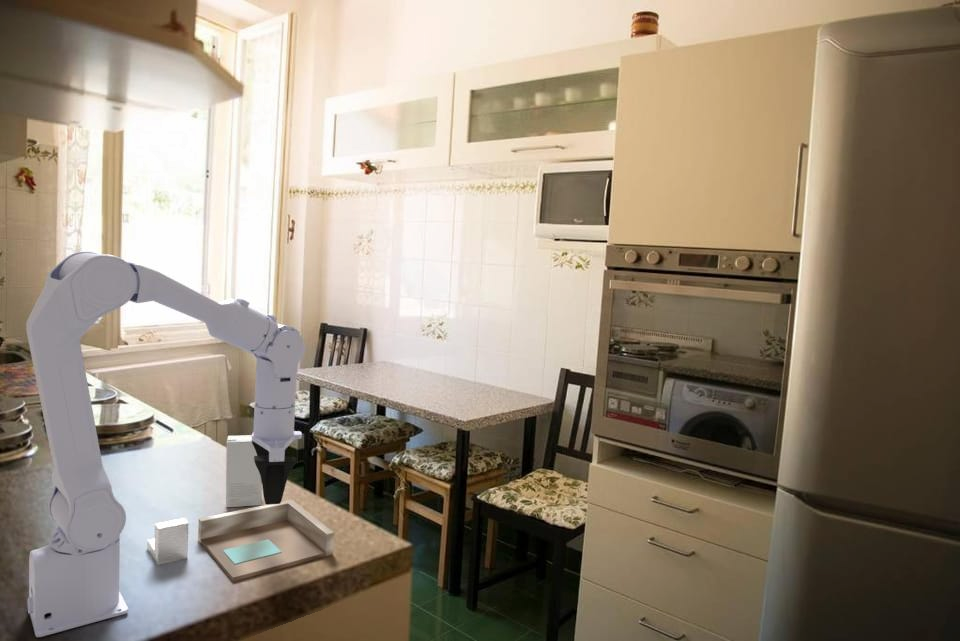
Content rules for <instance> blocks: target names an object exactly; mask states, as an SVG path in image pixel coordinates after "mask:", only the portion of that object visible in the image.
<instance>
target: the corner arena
mask: <svg viewBox="0 0 960 641" xmlns="http://www.w3.org/2000/svg"><path fill="white" fill-rule="evenodd" d="M197 528H198V530H197V532H198V534H197V539H198V542H199V543H200V545H201V546H202V547H203V548H204V550H206V551H207V552H208V554H209V555H210V557H212V559H213V560H214V561H215V563H216V564H217V565H218V566H219V568H221V570H222V571H223V572H224V573H225V574H226V575H227V577H228V578H229V579H230V580H231V582H233V583H234V582H237V581H241V580H245V579H247V578H252V577H255V576H259V575H262V574H263V575H264V574H265V573H270V572H273V571H277V570H280V569H285V568H289V567H293V566H296V565H300V564H303V563H306V562H311V561H314V560H317V559H321V558H325V557H328V556H332V555H334V540H335V532H334V531H333V530H331V529H330V528H329V527H328V526H326V524H324V523H323V522H321V521H320V520H319V519H317V518H316V517H315V516H314V515H313V514H311V513H310V512H308V511H307V510H306V509H305V508H303V507H302V506H301V505H300V504H298V503H297V502H296V501H294V499H288V500H283V501H282V500H281V503H280V504H271V505H266V504H264V505H257V506H252V507H250V508H245V509H244V508H243V509H239V510H234V511H229V512H224V513H219V514H214V515H210V516H209V515H208V516H204V517H200V518H198V527H197Z"/></svg>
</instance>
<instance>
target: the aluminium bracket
mask: <svg viewBox="0 0 960 641" xmlns="http://www.w3.org/2000/svg"><path fill="white" fill-rule="evenodd" d="M146 541H147V542H146V547H147V548H146V549H147V551H148V552H149V554H150V555H151V557H152V559H153V560H154V561H155V563H156V565H157V566H159V565H160V566H161V565H163V564H164V565H165V564H169V563H173V562H177V561H182V560H184V559H188V558H189V557H188V556H189V555H188V551H189V522H188V520H187V519H186V518H185V517H180V518H178V519H177V518H176V519H171V520H166V521H162V522H157V523H154V538H150V539H147V540H146Z"/></svg>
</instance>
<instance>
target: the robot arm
mask: <svg viewBox="0 0 960 641" xmlns="http://www.w3.org/2000/svg"><path fill="white" fill-rule="evenodd" d="M45 280H46V281H45V283H44V284H45V285H44V286H43V287H42V288H43V289H42V290H41V292H40V294H39V296H38V298H37V300H36V302H35V304H34V306H33V307H32V310H31V312H30V314H29V316H28V318H27V320H26V322H25V325H26V326H25V329H26V335H27V341H28V345H29V349H30V350H29V351H30V356H31V361H32V365H33V372H34V376H35V381H36V386H37V390H38V395H39V401H40V405H41V411H42V416H43V420H44V425H45V431H46V436H47V440H48V446H49V451H50V455H51V459H52V460H51V461H52V465H53V471H52V474H51V482H52V492H51V495H50V497H49V500H48V504H47V506H48V508H47V510H48V513H49V516H50V517H51V519H52V520H53V521H54V522H56V524H57V528H56V529H55V532H54V533H53V535H52V538H51V541H50V543H49V544H47V545H44V546H42V547H39V548H37V549H32V550H31V551H29V558H28V561H29V562H28V597H27V612H28V613H27V614H29V616H30V620H31V623H32V627H33V631H34V635H35V637H36V638H42V637H46V636H50V635H52V634H57V633H61V632H64V631H68V630H71V629H74V628H78V627H82V626H86V625H89V624H93V623H96V622H101V621H104V620H106V619H107V620H108V619H111V618H114V617H119V616H122V615H125V614H128V612H129V607H128V605H127V603H126V601H125V599H124V597H123V595H122V593H121V591H120V562H121V561H120V558H121V557H120V554H121V549H120V548H121V545H120V544H121V533H122V532H123V530H124V529H125V526H126V522H127V515H126V514H127V513H126V510H125V508H124V506H123V504H121V503H120V502H119V501H118V500H117V499H116V498H115V496H114V492H113V488H112V484H111V481H110V479H109V477H108V474H107V473H106V472H107V471H106V470H105V466H104V464H103V460H102V455H101V449H100V444H99V436H98V433H97V428H96V427H97V426H96V422H95V417H94V416H95V415H94V412H93V411H94V410H93V406H92V400H91V394H90V390H89V383H88V378H87V377H88V376H87V374H86V368H85V367H86V366H85V362H84V357H83V351H82V345H81V337H83V335H84V334H85V333H87V331H88V330H90V328H92V326H93V325H94V324H95V323H96V322H97V321H98V320H99V319H100V318H102V317H104V316H106V315H108V314H111V313H112V312H114V311H116V310H118V309H120V308H121V307H122V306H125V305H126V304H128V302H133V303H136V304H141V303H148V302H154V303H158V304H159V305H162V306H165V307H167V308H169V309H172V310H174V311H177V312H179V313H181V314H184V315H186V316H189V317H191V318H194V319H196V320H198V321H200V322H203V323H204V324H205V325H206V328H207V331H208V333H209V335H210V336H211V337H212V338H214V339H217V340H219V341H222V342H224V343H226V344H229V345H231V346H232V347H236V348H238V349H240V350H242V351H245V352H247V353H248V354H252V355H253V357H254V358H256V367H255V386H254V387H255V390H254V391H255V392H254V407H253V408H254V410H253V412H254V414H253V432H252V434H251V435H252V444H253V446H254V448H255V450H256V453H257V456H254V462H255V464H256V467H257V469H258V471H259V473H260V476H261V481H262V493H263V494H262V496H263V500H264V505H271V504H280V503H281V502H282V500H283V497H284V493H285V489H286V484H287V481H288V478H289V475H290V473H291V471H292V470H293V468H294V466H295V465H296V462H297V458H296V456H285V455H286V454H285V453H286V451H287V449H288V447H289V446H290V445H291V444H292V443H293V442H294V441H295V440H300V439H302V438H303V433H302V431H300V430H297V431H296V430H295V416H296V415H295V413H296V396H297V377H298V376H297V375H298V370H299V369H298V367H299V363H300V361H301V360H302V359H303V357H304V356H305V353H306V350H307V344H305V343H304V339H303V335H301V333H300V331H299V330H298V329H297V328H295V327H293V326H291V325H285V324H281V323H278V322H277V319H278V318H277V316H275V315H273V314H270V313H269V314H267V315H265V314H264V313H261V312H259V311H257V310H255V309H253V308H251V307H249V306H250V302H249V301H247V300H246V299H242V298H237V299H236V300H235V299H233V298H226V299H223V300H221V301H218V302H217V301H216V300H213V299H211V298H210V297H207V296H206V295H204V294H202V293H200V292H198V291H196V290H194V289H192V288H190V287H189V286H186V285H185V284H183V283H181V282H180V281H177V280H175V279H173V278H171V277H169V276H168V275H165V274H163V273H161V272H160V271H157V270H155V269H152V268H149V267H146V266H144V265H141V264H137V263H135V262H131V261H130V262H128V261H126V260H125V259H123V258H121V257H119V256H116V255H112V254H98V253H96V252H92V251H78V252H77V251H76V252H74V253H71V254H69V255H68V256H66V257H64V259H62V261H60V262H59V263H58V264H57V265H55V266H54V267H53V268H52V269H51V270H49V272H47V277H46V279H45Z"/></svg>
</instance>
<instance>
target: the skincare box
mask: <svg viewBox="0 0 960 641" xmlns="http://www.w3.org/2000/svg"><path fill="white" fill-rule="evenodd" d="M225 455H226V462H225V463H226V465H225V466H226V471H225V472H226V473H225V475H226V478H225V479H226V480H225V487H226V488H225V507H226V508H238V507H239V508H240V507H257V506H262V502H263V501H262V499H263V494H262V493H263V487H262V481H261V476H260V473H259V471H258V469H257V467H256V464H255V462H254V456H257V453H256V450H255V448H254V446H253V444H252V434H249V435H248V434H247V435H246V434H244V435H241V434H240V435H228V436H227V439H226V454H225Z"/></svg>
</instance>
